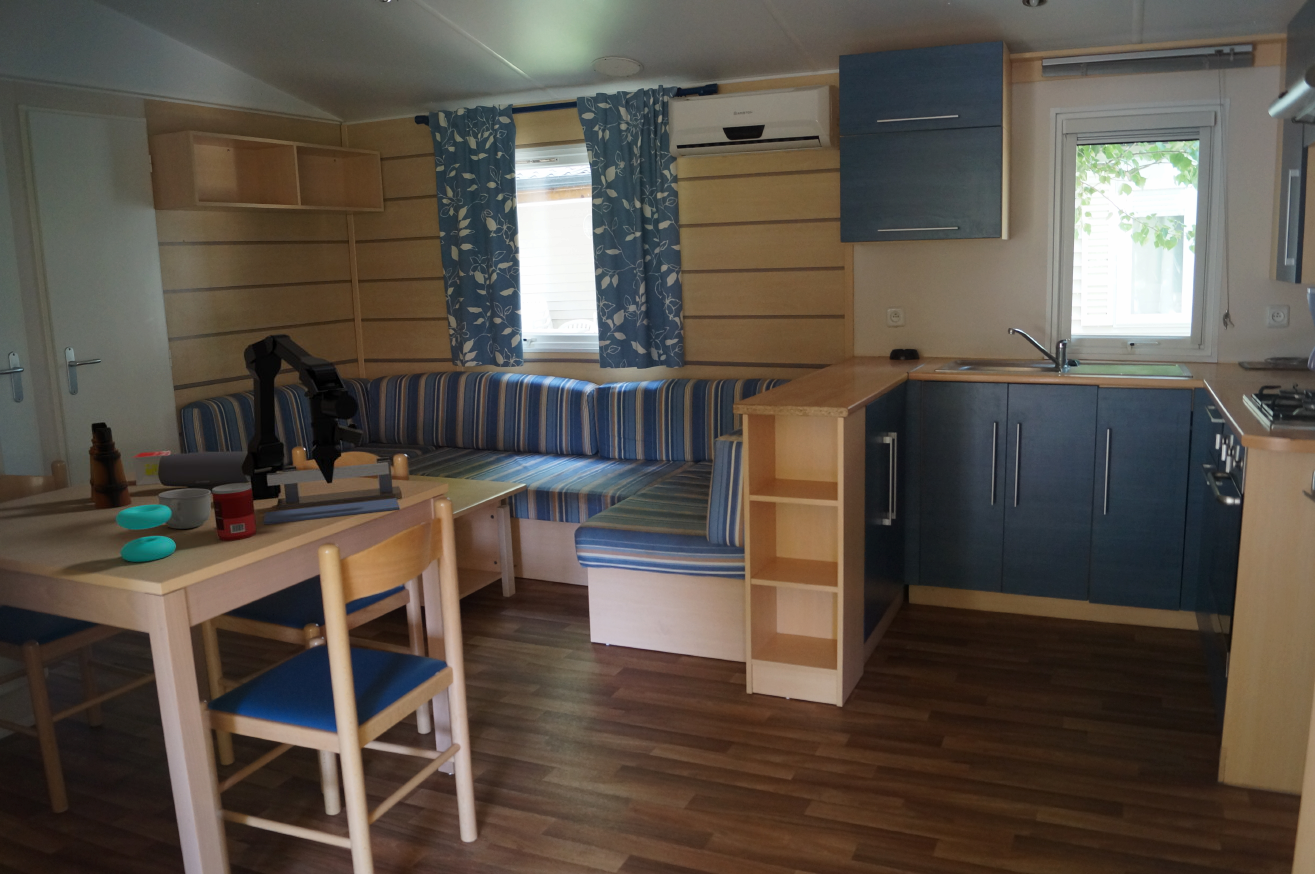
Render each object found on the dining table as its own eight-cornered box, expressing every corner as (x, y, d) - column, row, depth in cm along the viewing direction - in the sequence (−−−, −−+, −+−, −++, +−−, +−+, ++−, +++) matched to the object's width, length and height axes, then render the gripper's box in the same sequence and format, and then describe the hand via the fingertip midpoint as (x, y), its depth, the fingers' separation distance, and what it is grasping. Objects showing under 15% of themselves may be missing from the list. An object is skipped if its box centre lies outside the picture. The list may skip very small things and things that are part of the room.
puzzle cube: (136, 485, 273) (132, 457, 272) (143, 479, 281) (140, 452, 279) (167, 482, 275) (164, 455, 274) (174, 477, 282) (170, 450, 281)
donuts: (181, 503, 202) (147, 515, 192) (187, 549, 204) (153, 564, 194) (139, 502, 204) (103, 514, 194) (145, 549, 206) (110, 563, 196)
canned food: (264, 532, 216) (259, 483, 214) (238, 541, 208) (232, 491, 206) (236, 530, 218) (231, 482, 216) (209, 540, 211) (203, 490, 209)
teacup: (177, 520, 230) (173, 487, 228) (222, 519, 229) (218, 485, 228) (145, 536, 216) (140, 501, 215) (193, 535, 216) (188, 499, 214)
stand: (277, 511, 234) (273, 472, 233) (278, 504, 242) (274, 466, 240) (402, 498, 243) (398, 460, 242) (399, 491, 251) (396, 455, 249)
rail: (267, 485, 225) (266, 475, 225) (268, 483, 227) (267, 473, 227) (389, 473, 234) (388, 464, 233) (388, 472, 236) (387, 462, 235)
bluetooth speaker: (258, 482, 270) (254, 447, 268) (245, 490, 261) (241, 453, 259) (175, 486, 269) (171, 450, 268) (159, 494, 260) (154, 457, 258)
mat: (263, 524, 222) (263, 522, 222) (265, 514, 232) (265, 512, 232) (399, 509, 232) (399, 506, 232) (396, 500, 241) (396, 498, 241)
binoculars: (89, 498, 258) (79, 423, 255) (124, 493, 263) (114, 419, 260) (96, 510, 243) (85, 431, 240) (133, 505, 248) (123, 427, 245)
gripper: (361, 419, 222) (367, 486, 224) (357, 408, 239) (363, 471, 242) (309, 423, 218) (315, 491, 221) (309, 412, 236) (315, 476, 238)
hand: (329, 482), depth 231 cm, fingers closed on rail, 2 cm apart
